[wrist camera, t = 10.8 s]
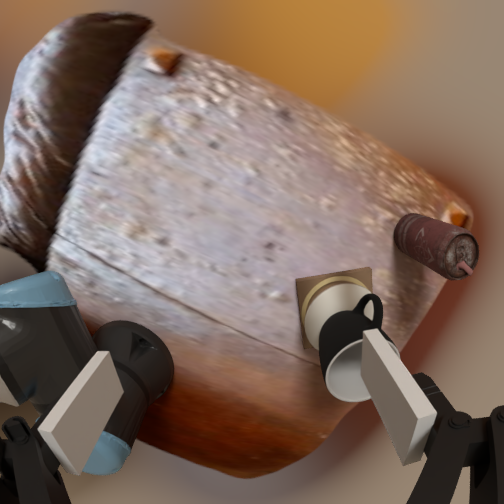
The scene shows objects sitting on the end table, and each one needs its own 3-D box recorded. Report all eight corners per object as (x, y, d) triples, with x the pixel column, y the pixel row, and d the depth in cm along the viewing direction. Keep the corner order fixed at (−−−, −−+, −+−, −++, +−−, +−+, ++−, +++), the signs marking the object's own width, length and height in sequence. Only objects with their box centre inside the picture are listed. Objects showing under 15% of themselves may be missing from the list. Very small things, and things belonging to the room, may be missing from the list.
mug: (359, 362, 43) (381, 405, 33) (302, 352, 42) (313, 398, 32) (390, 287, 40) (424, 319, 30) (330, 272, 39) (353, 304, 30)
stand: (303, 345, 48) (307, 362, 43) (295, 278, 45) (300, 291, 40) (370, 332, 47) (380, 347, 42) (368, 266, 44) (381, 277, 40)
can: (412, 261, 44) (462, 293, 31) (385, 237, 43) (432, 263, 30) (434, 230, 43) (489, 252, 29) (408, 204, 42) (462, 218, 28)
